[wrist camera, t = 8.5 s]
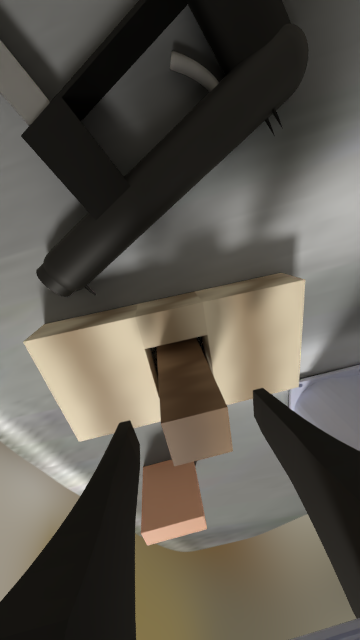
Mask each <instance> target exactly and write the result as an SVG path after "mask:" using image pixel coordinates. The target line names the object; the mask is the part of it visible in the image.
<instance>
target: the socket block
mask: <svg viewBox="0 0 360 640" xmlns="http://www.w3.org/2000/svg"><path fill="white" fill-rule="evenodd" d="M304 292H305V279H301V278H298V277H294V276H291V275H287V274H284V273H278V274H273V275H268V276H264V277H259V278H255V279H250V280H245V281H241V282H236V283H232V284H227V285H222V286H218V287H213V288H209V289H204V290H199V291H195V292H190V293H186V294H181V295H176V296H172V297H167V298H163V299H158V300H153V301H149V302H144V303H140V304H135V305H130V306H126V307H121V308H117V309H112V310H107V311H103V312H98V313H94V314H89V315H84V316H80V317H75V318H71V319H66V320H62V321H57V322H52V323H48V324H44V325H43V326H42V327H40V328H39V329H38V330H37V331H36V332H34V333H33V334H32V335H31V336H30V337H28V338H27V339H26V340H25V341H24V342H23V343H24V344H25V346H26V348H27V350H28V351H29V353H30V355H31V357H32V359H33V360H34V362H35V364H36V366H37V367H38V369H39V371H40V373H41V375H42V376H43V378H44V380H45V382H46V384H47V385H48V387H49V389H50V391H51V392H52V394H53V396H54V398H55V400H56V401H57V403H58V405H59V407H60V409H61V410H62V412H63V414H64V416H65V417H66V419H67V421H68V423H69V425H70V426H71V428H72V430H73V432H74V434H75V435H76V437H77V439H78V441H79V442H80V441H84V440H88V439H92V438H96V437H100V436H104V435H108V434H112V433H115V431H116V428H117V426H118V424H119V423H120V422H124V421H128V420H130V421H131V423H132V426H133V428H136V427H140V426H144V425H148V424H152V423H156V422H160V421H161V416H160V398H159V381H158V374H157V371H156V367H155V364H154V360H153V357H152V353H151V350H150V348H152V347H156V346H160V345H165V344H169V343H173V342H178V341H182V340H187V339H191V338H195V337H200V336H202V342H203V348H204V355H205V358H206V361H207V363H208V365H209V367H210V369H211V372H212V374H213V376H214V378H215V381H216V383H217V385H218V387H219V389H220V392H221V394H222V396H223V398H224V400H225V403H226V405H229V404H233V403H237V402H241V401H245V400H249V399H253V390H256V389H260V388H264V389H265V390H267V391H268V392H269V393H270V394H273V393H277V392H281V391H285V390H289V389H293V388H297V387H299V374H300V358H301V341H302V325H303V308H304Z"/></svg>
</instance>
